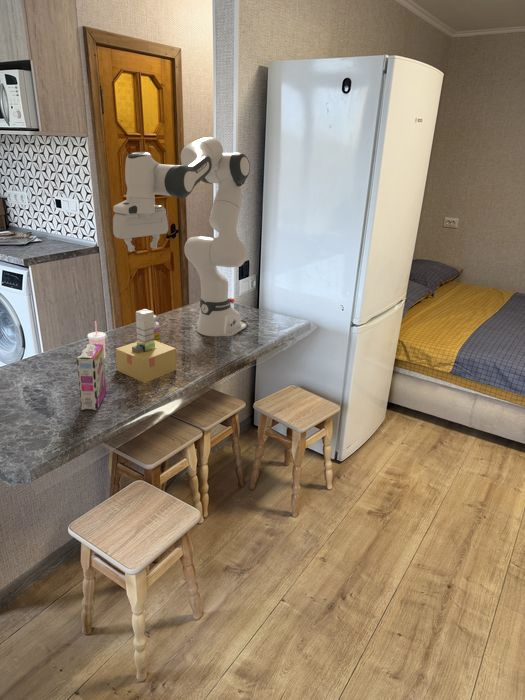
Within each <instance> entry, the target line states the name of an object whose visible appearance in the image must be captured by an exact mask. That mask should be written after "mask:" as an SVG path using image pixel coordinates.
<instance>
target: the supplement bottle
mask: <svg viewBox="0 0 525 700" xmlns="http://www.w3.org/2000/svg"><path fill="white" fill-rule="evenodd" d="M153 315H154V340H155V341H158V342H160V343H161V341H160V340H161V338H160V337H161V336H160V335H161V334H160V323H159V322H158V321H157V319H158V318H157V315H156V314H153Z"/></svg>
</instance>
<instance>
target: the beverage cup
mask: <svg viewBox="0 0 525 700" xmlns="http://www.w3.org/2000/svg"><path fill="white" fill-rule="evenodd" d="M97 324H98V323H97V320H94V329H95V331H92V332H89V333H88V334H87V338H88V344H102V345H103V350H104V360H105V359H106V337H107V334H106V332H103V331H98V326H97Z"/></svg>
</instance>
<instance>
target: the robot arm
mask: <svg viewBox="0 0 525 700" xmlns="http://www.w3.org/2000/svg"><path fill="white" fill-rule="evenodd" d="M180 161H181V164H163V163H159V162H157V161H156V160H155V159H154V158H153V156H152V154H151V153H150V152H148V151H147V152H146V151H136V152H131V153H128V155H127V156H126V159H125V166H124V168H125V169H124V170H125V171H124V173H125V177H124V178H125V185H126V188H127V189H126V190H127V191H126V193H125V194H126V199H125V200H124V201H123V200H122V201H121V202H119V203H117V204H115V205H113V208H112V209H113V212H114V213H115V214H114V215H113V218H112V232H113V233H112V234H113V235H114V237H115V238H116V239H122V240H123V241H124V242H125V245H126V246H127V251H128V252H130V253H132V252H135V251H136V249H135V248H136V247H135V245H133V244H132V241H133V238H139V237H148V236H152V241H151V242H150V244H149V246H150V248H151V249H158V242H159V240H160V235H164V234H167V233H168V231H169V224H168V223H169V222H168V217H167V210H166V208H165V207H164V206H163V205H162V204H161V205H156V199H155V198H156V195H159V196H168V197H174V198H178V199H184V198H187V197H189V195H190V194H191V193H192V192H193V190H194V189H195V187H196V186H197V185H198V184H199V183H200V182H203V183H204V184H217V185H218V187H217V188H218V189H217V191H216V194H215V197H214V200H213V203H212V208H211V210H210V213H209V214H210V215H209V225H210V226H211V228H212V229H213V230H215V231H216V232H217V233H218V236H217V237H214V236H204V235H200V236H199V235H197V236H191V237H189V238H188V239H187V240H186V242H185V244H184V248H183V252H184V255H185V258H186V259H187V260H188V261H189V262H190V264H192V266H194V268H195V270H196V272H197V274H198V277H199V281H200V298H199V307H200V309H199V312H198V313H199V314H198V315H199V316H198V321H197V324H196V327H197V329H196V332H197V333H199V334H200V335H203V336H206V337H232V336H234V335H236V334H238V333H239V332H241V331H242V330H244V329H246V328H247V324H246V323H245V322H242V317H241V313H240V312H239V311H237V310H236V309H235V308H234V307H232V305H231V304H234V303H235V302H236V299H235V298H232V297H229V281H228V279H227V278H226V276H224V274H222V273H221V272H219V270H218V268H217V267H223V268H228V269H229V268H239V267H241V266H243V265H244V263H245V262H246V259H247V256H248V252H247V248H246V246H245V244H244V243H243V242H242V240H241V239H240V238H239V236H238V231H237V230H238V229H237V226H238V225H237V224H238V221H239V216H240V211H241V207H242V199H243V188H242V186H243V185H244V184H245V182H246V180H247V179H248V177H249V175H250V170H251V165H250V161H249V158H248V157H247V155H246V154H245V153H244V152H243V153H242V152H238V151H234V152H224V149H223V145H222V143H221V142H220V140H218V138H215V137H213V136H207V137H201V138H197V139H195V140H194V141H193V140H192V142H191V141H190V142H189V143H188V144H186V145H184V147H183V148H182V150H181V152H180Z"/></svg>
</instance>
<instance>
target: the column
mask: <svg viewBox="0 0 525 700" xmlns="http://www.w3.org/2000/svg"><path fill="white" fill-rule="evenodd" d="M154 315H155V314H154V311H153V310H149V309H147V308H143V309H140V310H136V311H135V325H136V326H135V327H136V328H135V329H136V342H137V346H140V347H142V348H143V352H148V351H151V350H154V349H155V343H154Z"/></svg>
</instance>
